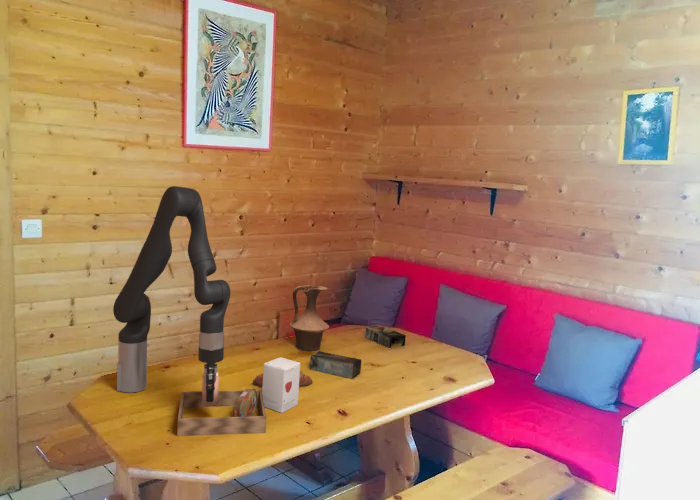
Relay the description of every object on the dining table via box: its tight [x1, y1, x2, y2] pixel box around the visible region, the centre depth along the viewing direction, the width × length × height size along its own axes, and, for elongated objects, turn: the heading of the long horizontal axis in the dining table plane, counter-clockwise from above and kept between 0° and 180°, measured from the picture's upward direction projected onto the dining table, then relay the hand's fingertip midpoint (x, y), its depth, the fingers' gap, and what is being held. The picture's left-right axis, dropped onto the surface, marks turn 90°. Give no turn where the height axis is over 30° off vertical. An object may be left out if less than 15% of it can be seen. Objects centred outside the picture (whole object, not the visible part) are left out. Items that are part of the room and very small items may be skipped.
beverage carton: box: [309, 350, 362, 380], centre depth 236 cm, size 8×19×7 cm, turn 66°
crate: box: [176, 389, 267, 437], centre depth 188 cm, size 26×21×5 cm
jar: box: [201, 371, 220, 408], centre depth 186 cm, size 5×5×10 cm
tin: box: [232, 388, 258, 417], centre depth 190 cm, size 15×3×8 cm, turn 168°
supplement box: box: [261, 356, 301, 414], centre depth 200 cm, size 9×9×15 cm
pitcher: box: [288, 284, 330, 352], centre depth 261 cm, size 18×17×28 cm
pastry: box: [252, 370, 314, 388], centre depth 220 cm, size 17×15×8 cm
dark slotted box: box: [363, 324, 407, 349], centre depth 279 cm, size 20×10×6 cm, turn 36°
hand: (209, 397), depth 187 cm, fingers closed on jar, 5 cm apart
